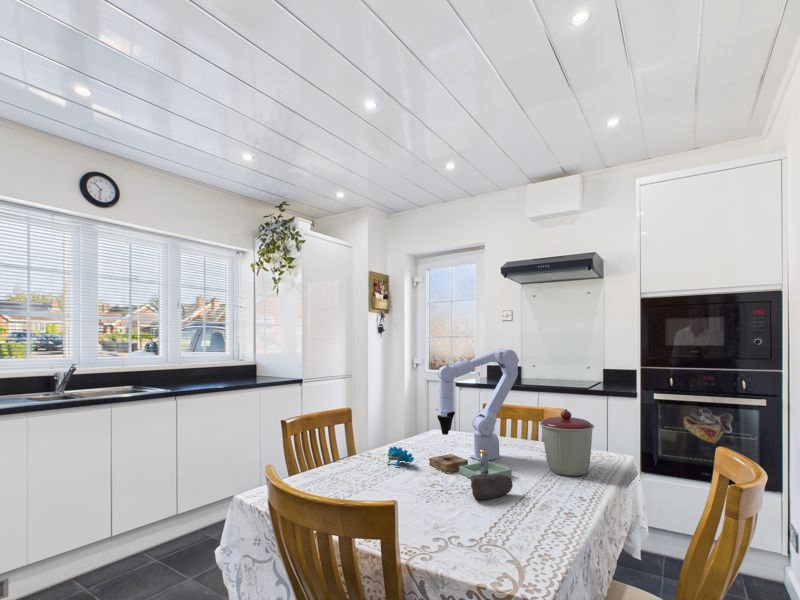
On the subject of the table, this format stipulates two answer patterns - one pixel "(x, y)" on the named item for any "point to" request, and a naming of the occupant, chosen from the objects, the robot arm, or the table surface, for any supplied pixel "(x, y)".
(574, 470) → the canister
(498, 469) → the tray
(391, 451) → the blue bumpy piece
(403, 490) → the table surface
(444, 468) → the block
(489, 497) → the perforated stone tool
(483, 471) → the pin
